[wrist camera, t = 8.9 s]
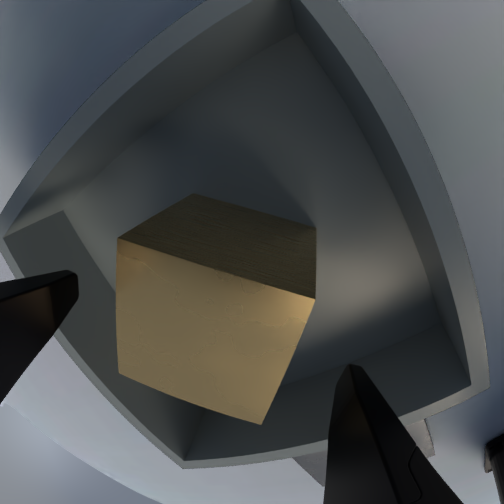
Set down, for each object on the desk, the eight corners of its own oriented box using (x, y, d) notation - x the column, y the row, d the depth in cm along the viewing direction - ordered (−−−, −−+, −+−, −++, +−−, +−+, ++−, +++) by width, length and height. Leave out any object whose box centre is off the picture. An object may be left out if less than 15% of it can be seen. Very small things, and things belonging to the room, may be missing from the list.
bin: (454, 319, 13) (490, 387, 9) (207, 408, 19) (182, 468, 14) (303, 13, 10) (294, -47, 5) (56, 202, 15) (-10, 231, 11)
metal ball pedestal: (433, 444, 17) (446, 535, 10) (323, 476, 20) (314, 561, 13) (408, 373, 15) (433, 500, 8) (268, 419, 18) (241, 529, 11)
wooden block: (316, 227, 12) (315, 299, 7) (281, 330, 14) (261, 425, 9) (192, 193, 13) (117, 237, 8) (177, 297, 15) (118, 373, 10)
